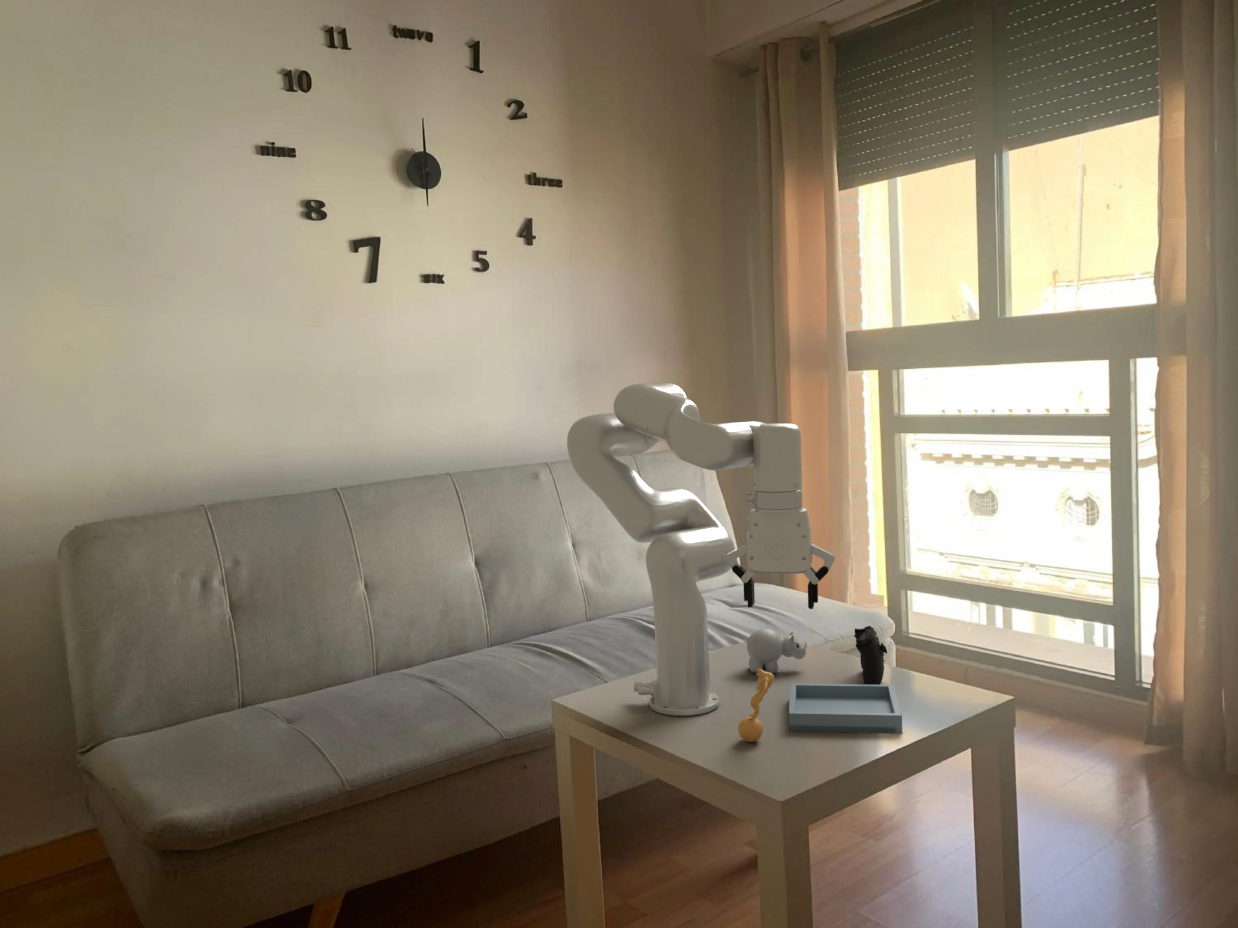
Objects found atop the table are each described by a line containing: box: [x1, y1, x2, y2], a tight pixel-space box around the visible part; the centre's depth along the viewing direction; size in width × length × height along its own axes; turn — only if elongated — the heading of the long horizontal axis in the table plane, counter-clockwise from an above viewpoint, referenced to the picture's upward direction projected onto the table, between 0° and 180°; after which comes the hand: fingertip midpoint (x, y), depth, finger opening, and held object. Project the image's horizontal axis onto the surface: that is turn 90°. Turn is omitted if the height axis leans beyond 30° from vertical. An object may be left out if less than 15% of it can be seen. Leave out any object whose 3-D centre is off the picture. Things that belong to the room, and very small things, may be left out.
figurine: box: [737, 669, 775, 743], centre depth 156 cm, size 8×6×12 cm
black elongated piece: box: [853, 625, 888, 685], centre depth 184 cm, size 14×6×10 cm, turn 168°
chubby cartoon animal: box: [746, 627, 808, 674], centre depth 194 cm, size 7×12×8 cm, turn 84°
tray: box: [788, 683, 903, 734], centre depth 166 cm, size 18×16×3 cm
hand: (781, 606), depth 156 cm, fingers open, 9 cm apart
